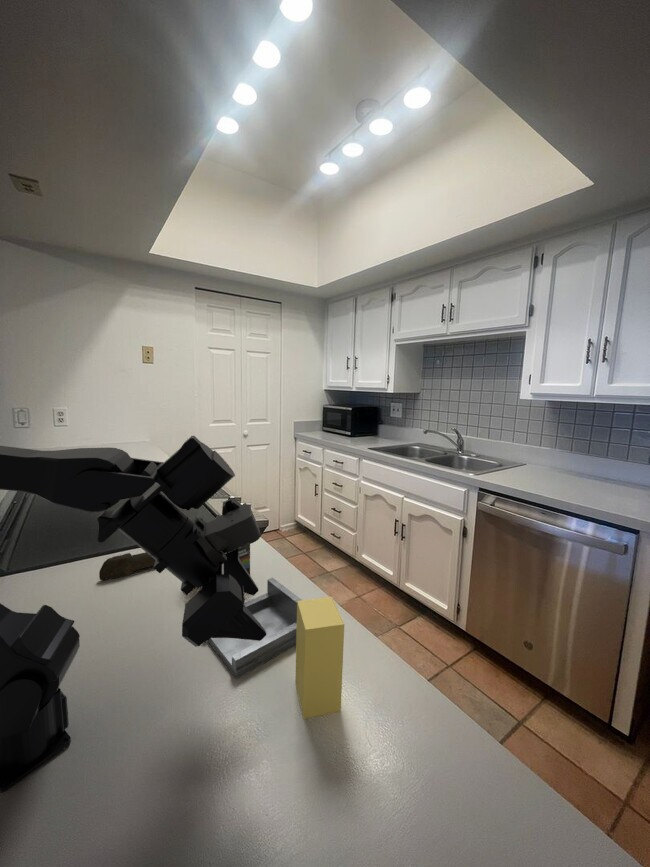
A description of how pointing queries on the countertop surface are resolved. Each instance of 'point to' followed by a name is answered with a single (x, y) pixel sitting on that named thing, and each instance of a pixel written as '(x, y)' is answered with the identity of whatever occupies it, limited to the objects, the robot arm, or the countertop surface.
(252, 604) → the grey metal tray
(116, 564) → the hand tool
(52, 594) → the countertop surface
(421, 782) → the countertop surface
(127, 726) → the countertop surface
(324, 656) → the block
